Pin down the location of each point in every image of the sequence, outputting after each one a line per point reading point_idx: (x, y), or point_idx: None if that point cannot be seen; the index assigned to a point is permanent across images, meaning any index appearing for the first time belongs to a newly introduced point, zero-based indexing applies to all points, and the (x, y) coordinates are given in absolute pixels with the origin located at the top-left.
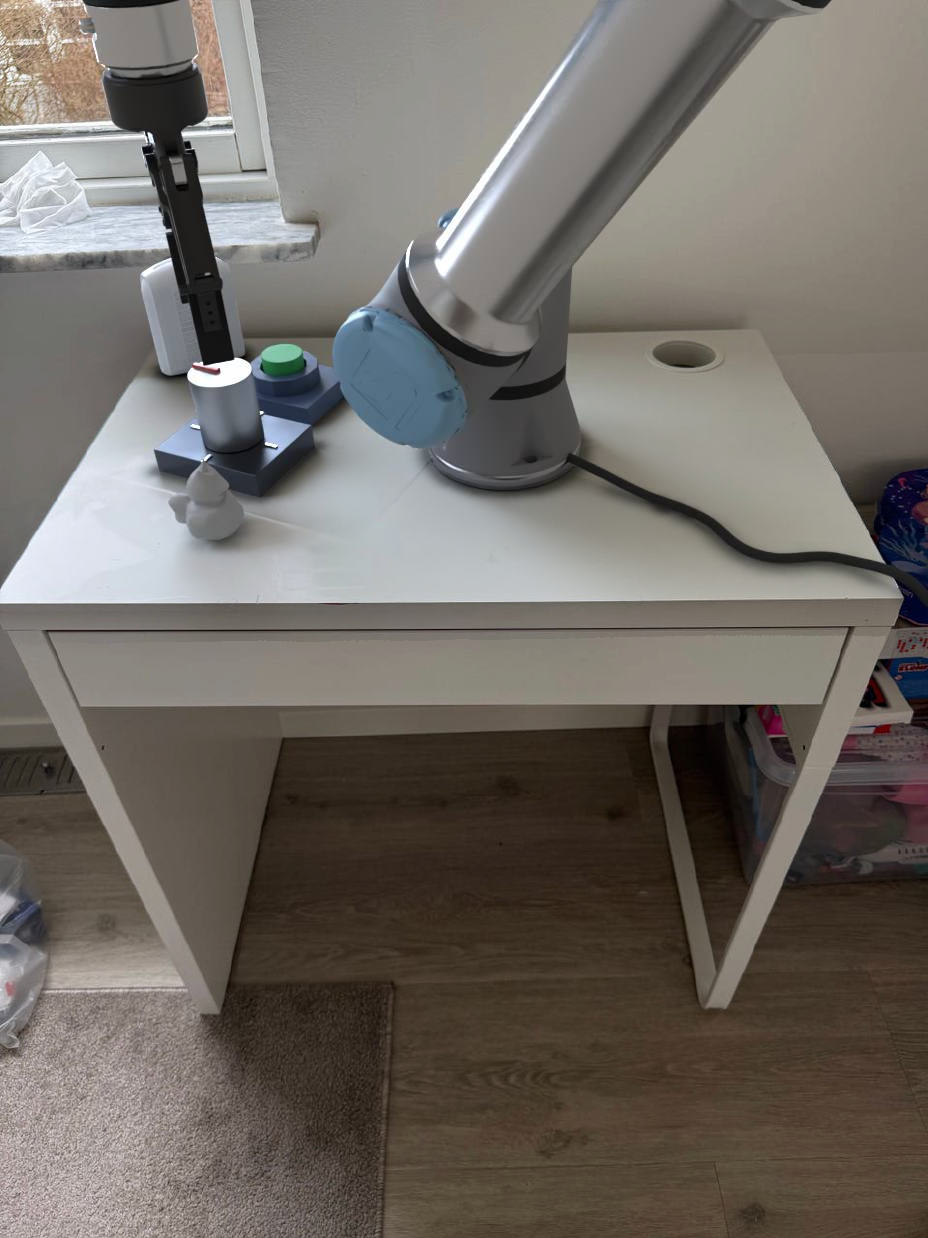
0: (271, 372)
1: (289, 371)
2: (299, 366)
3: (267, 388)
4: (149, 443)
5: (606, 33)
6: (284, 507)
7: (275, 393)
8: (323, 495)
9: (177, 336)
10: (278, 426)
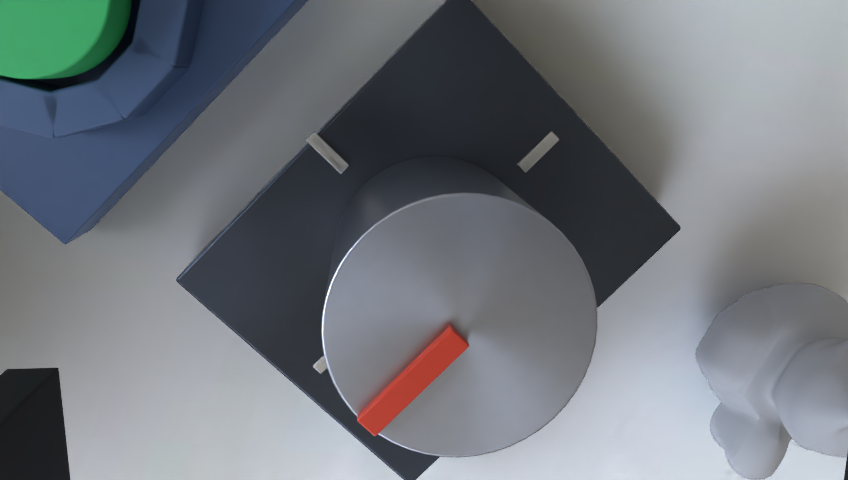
0: (103, 54)
1: None
2: None
3: (163, 87)
4: (242, 462)
5: None
6: (723, 159)
7: (188, 63)
8: (717, 40)
9: None
10: (425, 102)
